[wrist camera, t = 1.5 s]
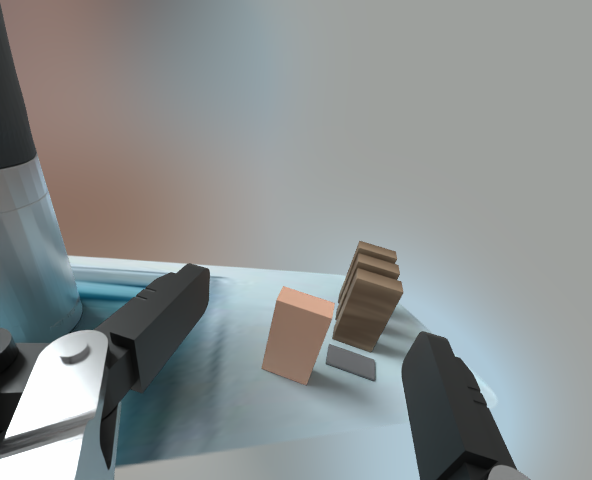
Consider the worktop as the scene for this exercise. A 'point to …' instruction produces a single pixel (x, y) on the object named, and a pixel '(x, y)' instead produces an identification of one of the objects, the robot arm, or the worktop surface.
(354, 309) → the walnut domino
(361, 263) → the walnut domino
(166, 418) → the worktop surface
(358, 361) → the pad
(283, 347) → the salmon pink domino
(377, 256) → the walnut domino
